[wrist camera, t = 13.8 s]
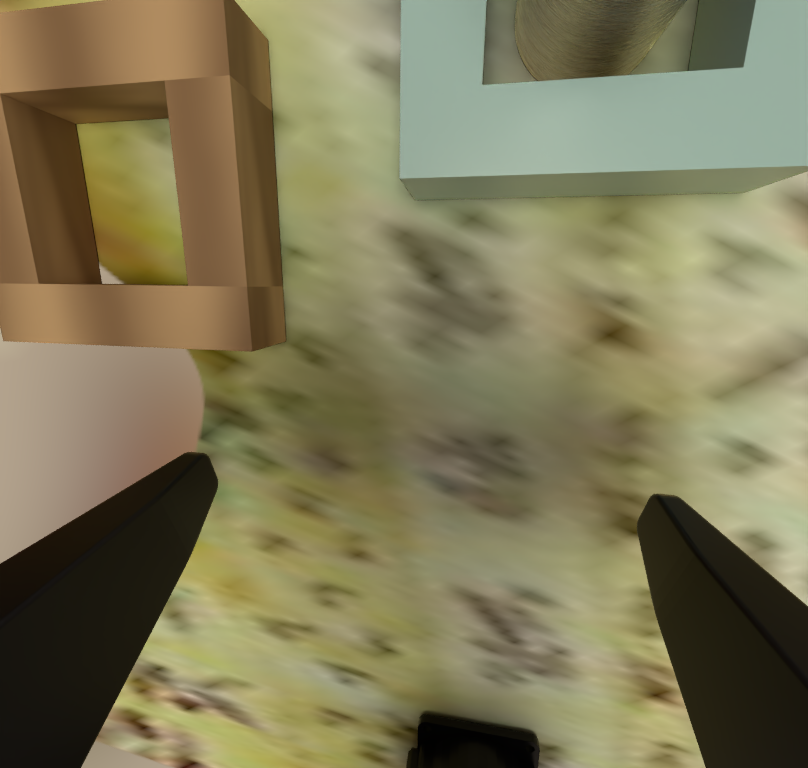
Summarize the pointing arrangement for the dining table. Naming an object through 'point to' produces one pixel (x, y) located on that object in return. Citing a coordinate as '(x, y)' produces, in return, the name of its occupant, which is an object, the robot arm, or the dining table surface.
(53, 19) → the brown wooden square frame
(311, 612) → the dining table surface
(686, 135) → the grey-teal holder
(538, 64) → the steel axle
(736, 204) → the dining table surface
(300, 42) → the dining table surface
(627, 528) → the dining table surface
